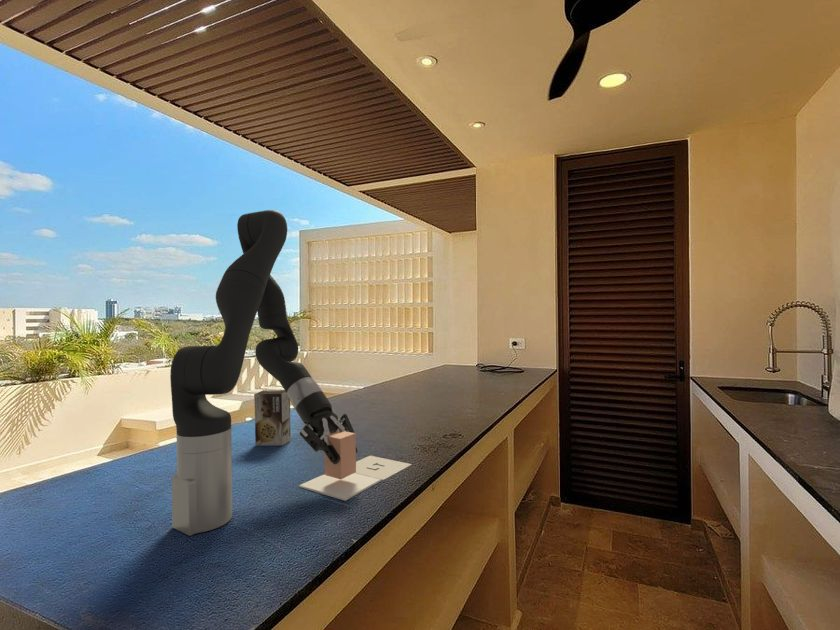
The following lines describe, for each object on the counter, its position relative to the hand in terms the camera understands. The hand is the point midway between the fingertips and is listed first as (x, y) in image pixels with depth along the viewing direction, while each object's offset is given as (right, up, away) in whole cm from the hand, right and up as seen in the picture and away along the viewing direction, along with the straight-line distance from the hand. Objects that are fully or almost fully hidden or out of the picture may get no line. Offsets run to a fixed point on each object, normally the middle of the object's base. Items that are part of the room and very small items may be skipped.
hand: (346, 457), depth 93 cm
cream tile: (+6, -6, +12) cm, 14 cm away
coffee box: (-29, -8, +35) cm, 46 cm away
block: (-1, -4, +1) cm, 4 cm away
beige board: (-1, -6, +1) cm, 7 cm away
